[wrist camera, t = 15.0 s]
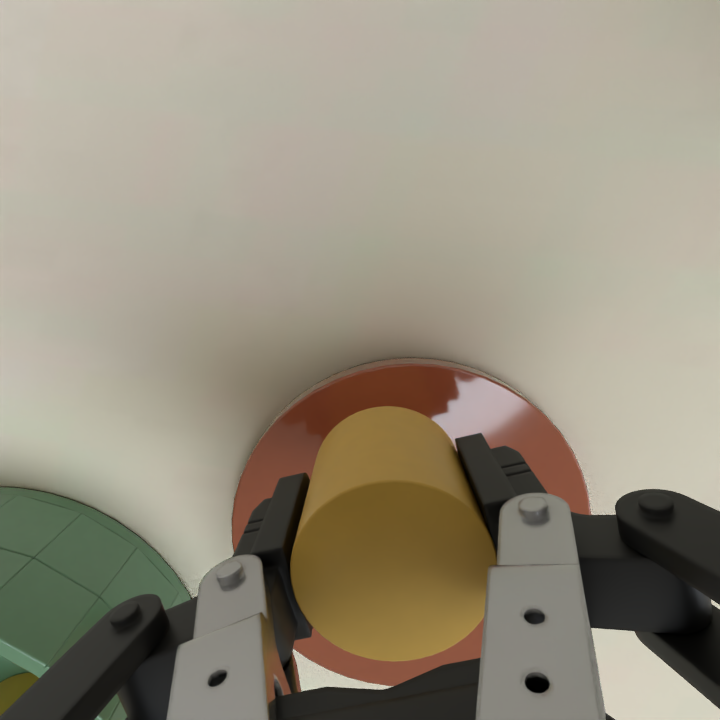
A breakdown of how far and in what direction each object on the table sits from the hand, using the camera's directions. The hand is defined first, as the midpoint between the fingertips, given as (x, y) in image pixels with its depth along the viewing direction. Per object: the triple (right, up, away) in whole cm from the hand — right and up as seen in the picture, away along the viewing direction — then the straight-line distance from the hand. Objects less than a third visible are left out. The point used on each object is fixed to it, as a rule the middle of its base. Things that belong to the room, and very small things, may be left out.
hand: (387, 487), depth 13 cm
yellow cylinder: (0, 0, +1) cm, 1 cm away
